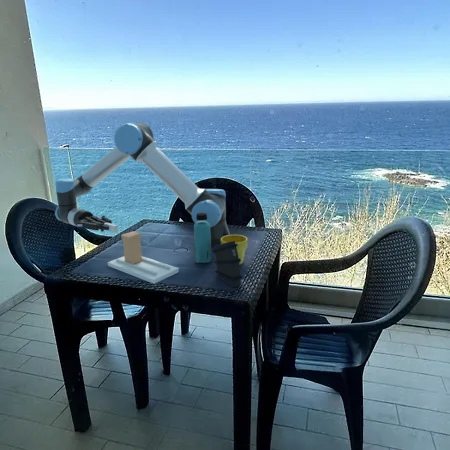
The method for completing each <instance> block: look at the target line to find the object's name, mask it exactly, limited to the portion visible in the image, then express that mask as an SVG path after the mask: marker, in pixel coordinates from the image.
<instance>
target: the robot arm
mask: <svg viewBox="0 0 450 450" xmlns="http://www.w3.org/2000/svg"><path fill="white" fill-rule="evenodd" d="M113 138H114V144H115V147H113V148H112V149H111V150H110V151H109V152H107V153H106V154H105V155H104V156H102V157H101V158H100V159H98V161H97V162H95V163H94V164H92V166H91V167H89V168H88V169H86V171H84V172H83V173H82V174H81V175H80V176H78V177H76V179H73V178H69V177H68V178H60V179H59V178H58V179H56V181H55V194H56V198H57V204H58V205H57V207H56V208H55V211H54V216H55V217H56V219H57V220H58V221H60V222H62V223H64V224H68V225H70V226H71V225H72V226H74V227H77V229H84V230H91V231H97V232H98V231H100V232H101V233H103V232H104V231H107V232H111V233H114V234H115V233H118V232H119V231H118V230H119V229H118V225H117V224H115V223H112V220H111V219H110V218H108V217H106V216H105V215H102V216H100V217H99V216H97V215H96V216H95V215H93V213H92V212H91V211H89V210H84V209H81V208H78V202H77V198H78V197H81V196H83V195H86V194H88V193H90V192H91V191H92V190H93V188H94V187H95V186H97V185H98V184H99V183H100V182H102V181H103V180H104V179H106V178H107V177H108V176H109V175H111V174H112V173H113V172H114V171H116V170H117V169H118V168H119V167H120V166H122V165H123V164H124V163H126V162H127V161H128V160H130V159H133V160H134V161H135V162H136V163H142V164H143V165H144V166H145V167H147V168H148V169H149V170H150V171H151V172H152V173H153V174H154V175H155V177H157V178H158V180H160V181H161V182H162V183H163V184H164V185H165V186H167V188H168V189H169V190H170V191H171V192H173V193H174V194H175V196H177V197H178V199H180V200H181V201H182V202H183V203H184V207H185V210H186V211H187V212H188V213H189V214H190V215H191V219H192V221H193V222H194V224H195V223H196V222H198V221H207V222H208V223H209V224H210V232H211V233H210V234H211V244H218V243H220V244H221V238H222V237H224V236H227V235H231V234H230V231H229V227H228V224H227V219H226V217H227V214H226V213H227V210H226V209H227V207H226V206H227V205H226V203H227V201H226V197H227V196H226V195H227V194H226V190H224V189H221V188H220V189H219V188H200V187H198V186H197V184H195V183H194V182H193V181H192V180H191V179H190V178H189V177H188V176H187V175H186V174H185V173H184V172H183V171H182V170H181V169H180V168H179V167H178V166H177V165H176V164H175V163H174V162H173V161H172V160H171V159H170V158H169V157H167V156H168V155H166V154H165V153H164V152H163V151H162V150H161V149H159V148H158V146H157V145H158V143H157V141H156V139H154V133H153V130H152V129H151V127H150V126H149V124H148V125H147V124H146V123H144V122H140V121H139V122H126V123H123V124H121V125H120V126H118V128H117V129H116V130H115V133H114V137H113ZM197 213H206V214H207V220H197V219H196V215H197Z"/></svg>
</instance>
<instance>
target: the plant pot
mask: <svg viewBox="0 0 450 450" xmlns="http://www.w3.org/2000/svg"><path fill="white" fill-rule="evenodd" d="M248 239H249V238H248V237H247V236H245V235H242V234H230V235H227V236H224V237H222V238H221V242H220V245H221V244H224V243H227V242H231V241H235V244H237V245H238V246H236V248H237V252H238V257H239V259H241V262H239V264H240V265H242V264H243V263H244V259H245V253H246V250H247V248H248V246H249V245H248Z"/></svg>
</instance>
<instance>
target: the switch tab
mask: <svg viewBox="0 0 450 450" xmlns="http://www.w3.org/2000/svg"><path fill="white" fill-rule="evenodd" d="M120 236H121V237H120V238H121V239H122V245H123V256H124V257H125V261H126V262H129V263H132V264H135V263H137V262H140V261H142V256H143V253H142V252H143V251H142V241H141V237H142V233H140V232H137V231H133V230H132V231H129V232H126V233H123V234H120Z"/></svg>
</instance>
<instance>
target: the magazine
mask: <svg viewBox="0 0 450 450" xmlns="http://www.w3.org/2000/svg"><path fill="white" fill-rule="evenodd" d="M236 246H238V245H237V244H235V241H231V242H227V243H224V244H221V243H220V244H217V245H214V246H213V247H212V249H211V252H212V254H213V253H214V256H215V261H214V264H215V265H216V270H215V273H216V276H217V278H219V279H220V280H222V281H224V282H225V283H227V284H228V285H229V286H231V287H232V288H237V287H241V286H242V283H241V281H242V279H243V275H242V273H241V266H240V265H241V264H239V262H241V259H239V257H238V252H237V248H236Z"/></svg>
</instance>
